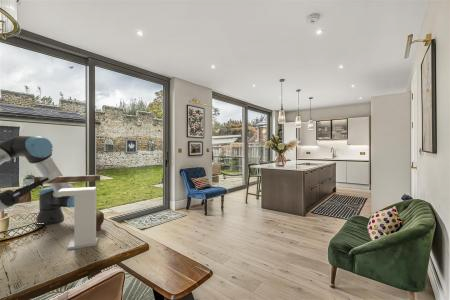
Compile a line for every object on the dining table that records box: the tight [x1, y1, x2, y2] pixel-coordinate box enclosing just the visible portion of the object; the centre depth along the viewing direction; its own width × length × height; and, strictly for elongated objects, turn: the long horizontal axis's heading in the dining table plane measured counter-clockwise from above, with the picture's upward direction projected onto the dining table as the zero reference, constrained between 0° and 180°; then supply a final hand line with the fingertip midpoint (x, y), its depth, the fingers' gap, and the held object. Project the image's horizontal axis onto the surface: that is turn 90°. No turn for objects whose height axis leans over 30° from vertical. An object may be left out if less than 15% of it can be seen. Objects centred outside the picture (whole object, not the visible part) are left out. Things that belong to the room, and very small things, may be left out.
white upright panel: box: [58, 186, 99, 250], centre depth 118 cm, size 17×8×30 cm, turn 114°
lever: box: [33, 174, 101, 185], centre depth 116 cm, size 28×3×3 cm, turn 114°
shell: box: [96, 210, 105, 232], centre depth 139 cm, size 11×11×12 cm
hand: (56, 174), depth 113 cm, fingers closed on lever, 3 cm apart
